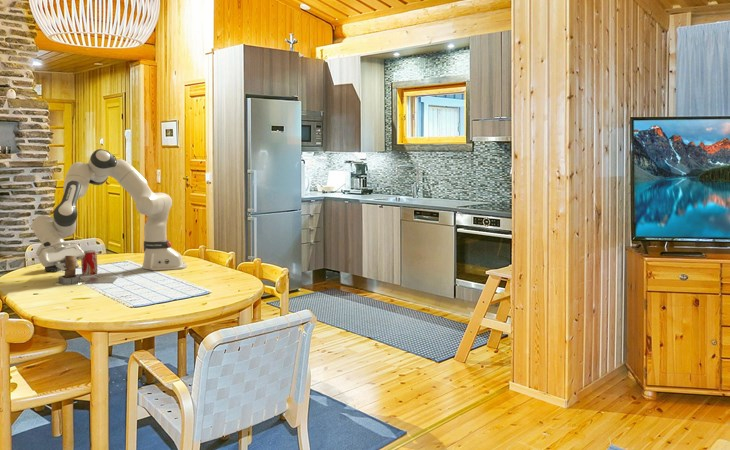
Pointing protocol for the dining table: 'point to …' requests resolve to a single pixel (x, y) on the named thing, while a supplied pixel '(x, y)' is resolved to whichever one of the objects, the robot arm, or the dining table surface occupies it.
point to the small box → (53, 268)
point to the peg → (70, 266)
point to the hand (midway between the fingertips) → (71, 268)
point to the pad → (101, 280)
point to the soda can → (89, 263)
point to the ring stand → (69, 281)
